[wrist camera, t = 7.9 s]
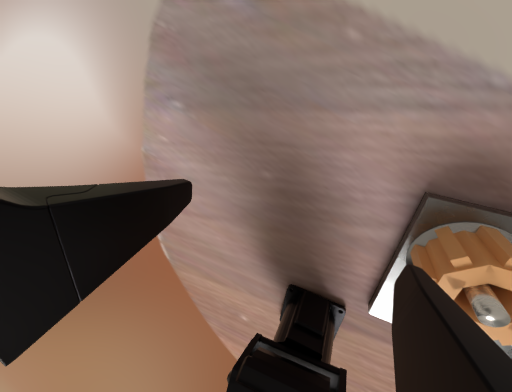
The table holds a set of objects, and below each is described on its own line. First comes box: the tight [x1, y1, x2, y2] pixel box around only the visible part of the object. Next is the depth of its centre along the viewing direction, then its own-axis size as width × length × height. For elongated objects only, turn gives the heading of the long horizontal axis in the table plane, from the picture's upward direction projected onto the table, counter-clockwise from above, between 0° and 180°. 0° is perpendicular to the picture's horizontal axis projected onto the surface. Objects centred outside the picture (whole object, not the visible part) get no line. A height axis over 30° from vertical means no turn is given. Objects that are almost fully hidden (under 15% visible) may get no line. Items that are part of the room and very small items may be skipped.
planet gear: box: [410, 225, 512, 346], centre depth 15 cm, size 7×7×4 cm
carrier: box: [368, 192, 512, 359], centre depth 16 cm, size 13×12×6 cm
